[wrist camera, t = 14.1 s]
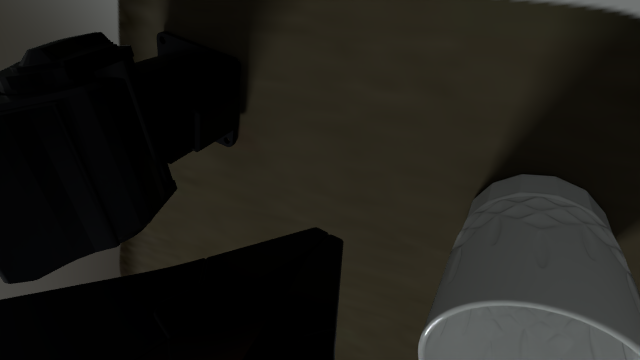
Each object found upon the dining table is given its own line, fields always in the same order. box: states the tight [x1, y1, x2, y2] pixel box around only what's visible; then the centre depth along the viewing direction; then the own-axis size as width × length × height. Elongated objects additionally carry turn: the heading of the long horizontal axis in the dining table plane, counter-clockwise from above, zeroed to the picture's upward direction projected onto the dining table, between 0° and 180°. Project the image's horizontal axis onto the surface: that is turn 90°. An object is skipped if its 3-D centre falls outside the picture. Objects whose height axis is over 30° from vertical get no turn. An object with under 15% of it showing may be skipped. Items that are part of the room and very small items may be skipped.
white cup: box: [418, 174, 640, 360], centre depth 17 cm, size 8×8×10 cm
